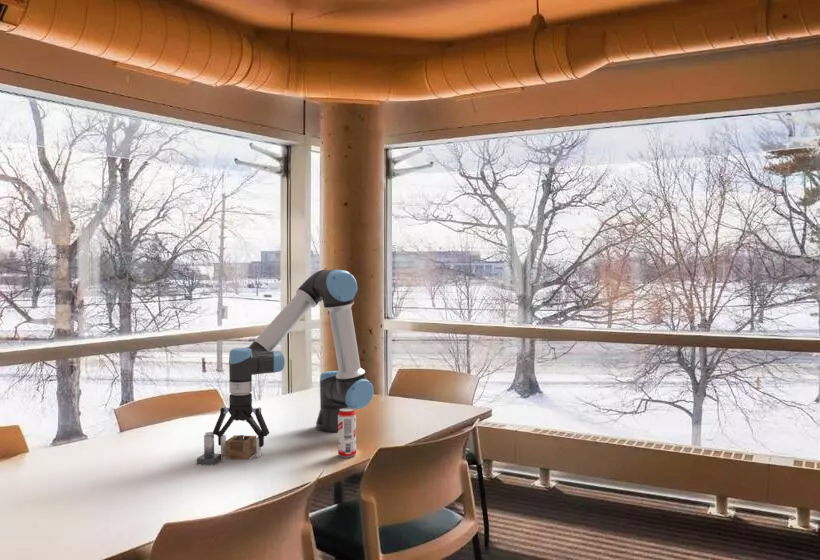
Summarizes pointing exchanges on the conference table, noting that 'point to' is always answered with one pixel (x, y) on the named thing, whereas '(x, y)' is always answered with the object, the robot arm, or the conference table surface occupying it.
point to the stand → (241, 437)
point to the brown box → (240, 447)
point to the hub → (209, 451)
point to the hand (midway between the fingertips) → (241, 455)
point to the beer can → (347, 432)
